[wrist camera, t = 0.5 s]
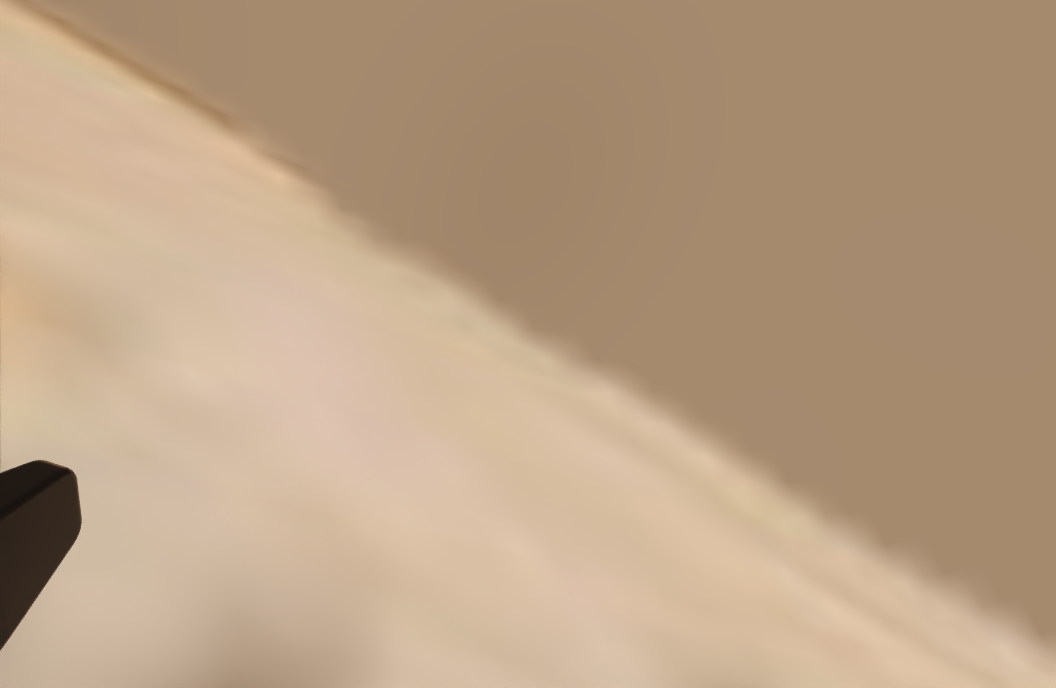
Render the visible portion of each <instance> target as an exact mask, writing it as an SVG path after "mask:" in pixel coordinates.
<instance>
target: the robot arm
mask: <svg viewBox="0 0 1056 688" xmlns="http://www.w3.org/2000/svg"><path fill="white" fill-rule="evenodd" d="M81 523H82V517H81V509H80V500H79V492H78V483H77V477H76V475H75V473H74V472H73V471H72V470H71V469H69V468H67V467H64V466H61V465H57V464H54V463H51V462H48V461H44V460H36V461H32V462H29V463H26V464H23V465H21V466H18V467H15V468H13V469H10V470H7V471H5V472H2V473H0V650H1V649H2V648H3V646H4V645H5V643H6V642H7V641H8V639H9V638H10V637H11V635H12V634H13V632H14V631H15V629H16V628H17V626H18V625H19V623H20V622H21V620H22V619H23V617H24V616H25V615H26V613H27V612H28V610H29V609H30V607H31V606H32V604H33V603H34V601H35V600H36V598H37V597H38V595H39V594H40V593H41V591H42V590H43V588H44V587H45V585H46V584H47V582H48V581H49V579H50V578H51V576H52V575H53V573H54V572H55V571H56V569H57V568H58V566H59V565H60V563H61V562H62V560H63V559H64V557H65V556H66V554H67V553H68V551H69V550H70V549H71V547H72V546H73V544H74V542H75V541H76V539H77V537H78V535H79V532H80V529H81Z"/></svg>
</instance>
